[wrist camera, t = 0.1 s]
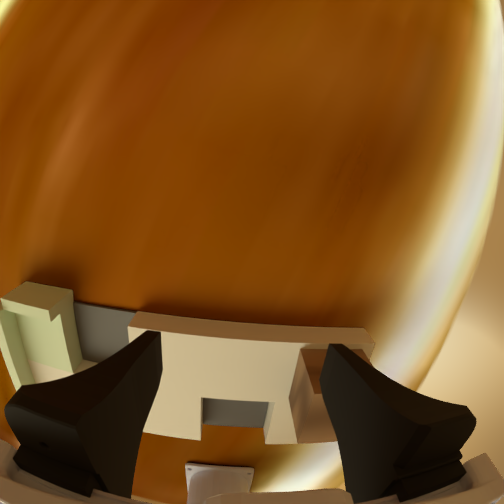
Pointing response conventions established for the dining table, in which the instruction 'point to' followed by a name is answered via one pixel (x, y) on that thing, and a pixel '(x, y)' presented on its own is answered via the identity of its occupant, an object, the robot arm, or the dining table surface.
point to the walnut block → (311, 398)
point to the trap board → (169, 358)
